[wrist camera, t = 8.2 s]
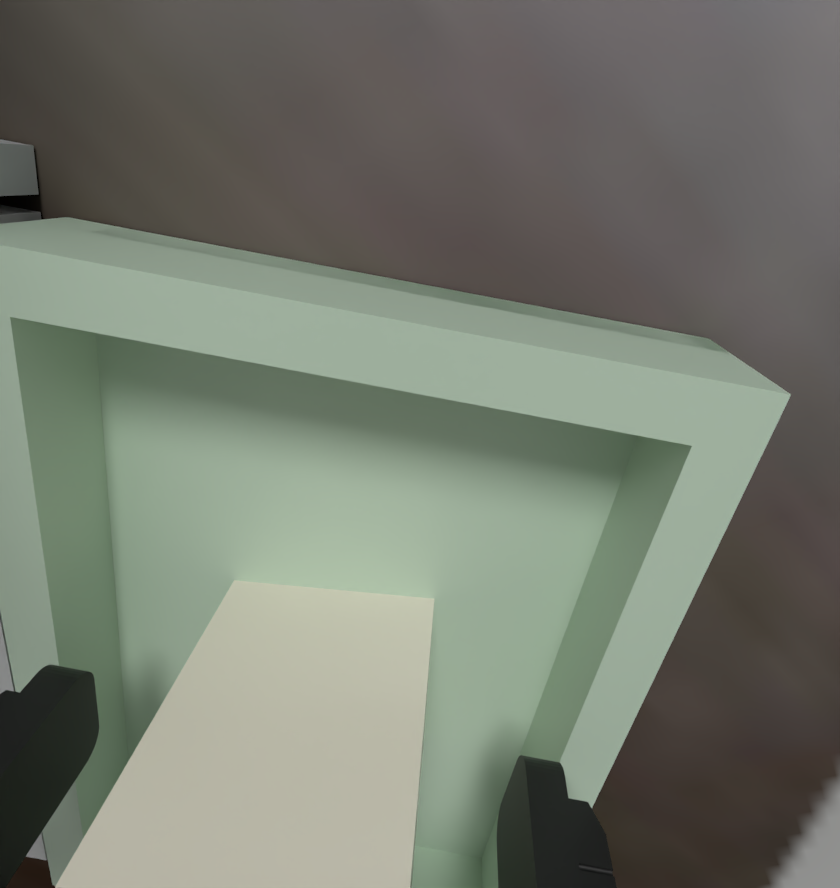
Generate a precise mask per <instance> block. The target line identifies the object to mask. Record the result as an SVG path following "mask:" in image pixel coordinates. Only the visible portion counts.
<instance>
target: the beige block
mask: <svg viewBox="0 0 840 888" xmlns="http://www.w3.org/2000/svg"><path fill="white" fill-rule="evenodd" d="M433 613H434V599H433V598H422V597H411V596H400V595H389V594H378V593H368V592H357V591H346V590H335V589H324V588H313V587H302V586H291V585H280V584H269V583H258V582H248V581H237V580H234V582H233V583H232V585H231V587H230V588H229V590H228V592H227V593H226V595H225V597H224V599H223V600H222V602H221V604H220V605H219V607H218V609H217V611H216V612H215V614H214V616H213V617H212V619H211V621H210V623H209V624H208V626H207V628H206V629H205V631H204V633H203V635H202V636H201V638H200V640H199V641H198V643H197V645H196V647H195V648H194V650H193V652H192V653H191V655H190V657H189V658H188V660H187V662H186V664H185V665H184V667H183V669H182V670H181V672H180V674H179V676H178V677H177V679H176V681H175V682H174V684H173V686H172V688H171V689H170V691H169V693H168V694H167V696H166V698H165V700H164V701H163V703H162V705H161V706H160V708H159V710H158V711H157V713H156V715H155V717H154V718H153V720H152V722H151V723H150V725H149V727H148V729H147V730H146V732H145V734H144V735H143V737H142V739H141V741H140V742H139V744H138V746H137V747H136V749H135V751H134V753H133V754H132V756H131V758H130V759H129V761H128V763H127V765H126V766H125V768H124V770H123V771H122V773H121V775H120V776H119V778H118V780H117V782H116V783H115V785H114V787H113V788H112V790H111V792H110V794H109V795H108V797H107V799H106V800H105V802H104V804H103V806H102V807H101V809H100V811H99V812H98V814H97V816H96V818H95V819H94V821H93V823H92V824H91V826H90V828H89V829H88V831H87V833H86V835H85V836H84V838H83V840H82V841H81V843H80V845H79V847H78V848H77V850H76V852H75V853H74V855H73V857H72V859H71V860H70V862H69V864H68V865H67V867H66V869H65V871H64V872H63V874H62V876H61V877H60V879H59V881H58V883H57V884H56V886H55V888H412V879H413V867H414V854H415V842H416V830H417V818H418V806H419V794H420V782H421V769H422V757H423V745H424V733H425V719H426V706H427V693H428V679H429V666H430V653H431V639H432V626H433Z"/></svg>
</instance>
